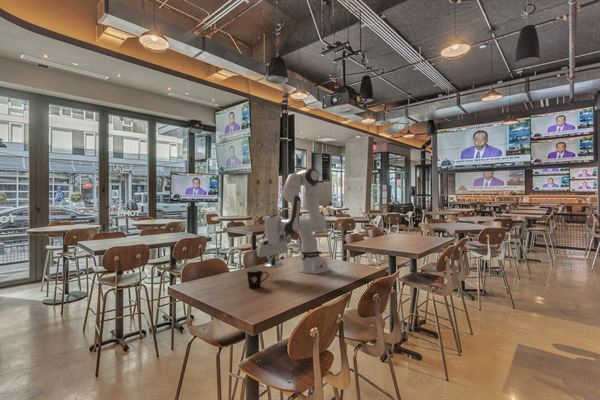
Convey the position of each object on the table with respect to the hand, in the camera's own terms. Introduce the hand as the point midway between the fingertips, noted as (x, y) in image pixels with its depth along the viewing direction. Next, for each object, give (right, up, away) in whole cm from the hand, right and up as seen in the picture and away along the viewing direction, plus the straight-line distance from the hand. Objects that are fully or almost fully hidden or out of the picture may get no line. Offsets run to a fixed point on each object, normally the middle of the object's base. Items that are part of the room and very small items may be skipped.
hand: (273, 261), depth 190 cm
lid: (0, -2, 0) cm, 2 cm away
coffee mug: (-8, -12, -16) cm, 21 cm away
